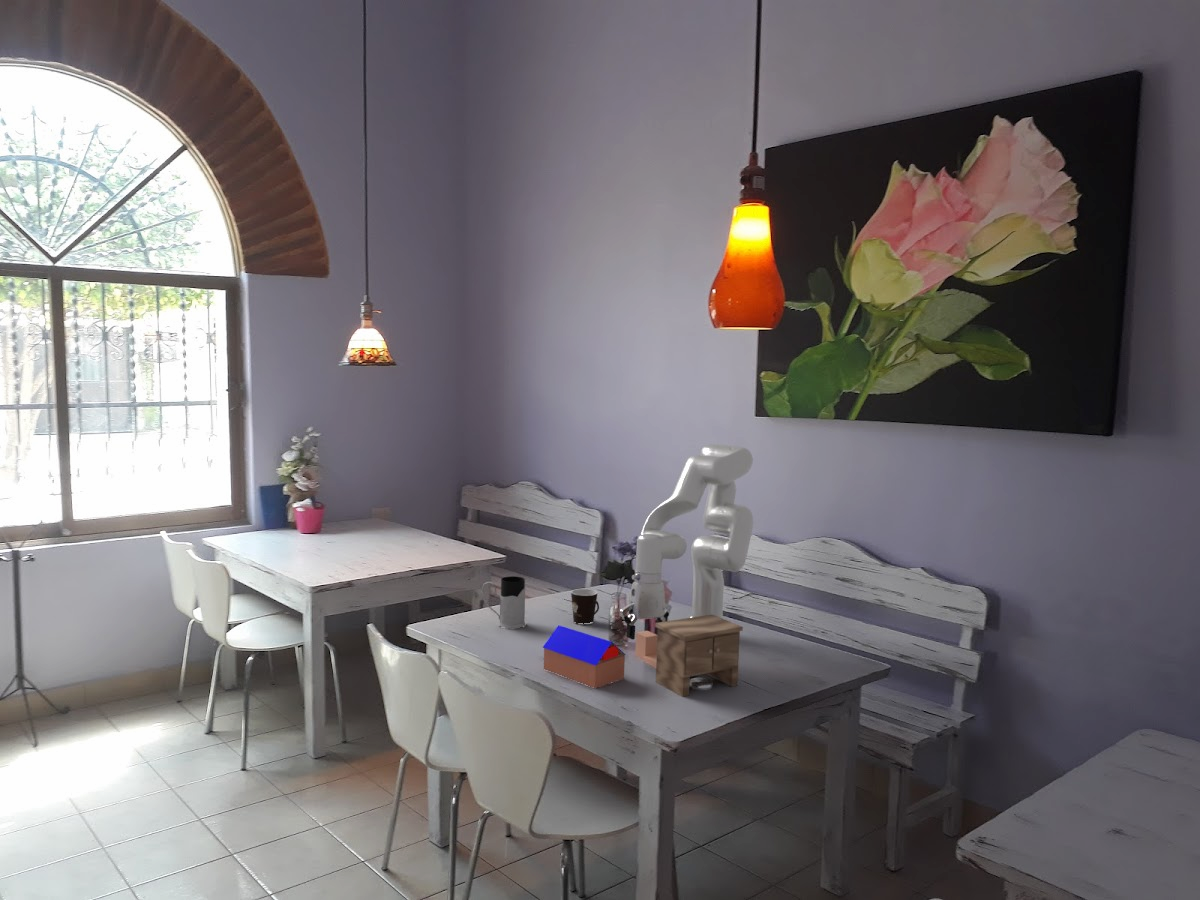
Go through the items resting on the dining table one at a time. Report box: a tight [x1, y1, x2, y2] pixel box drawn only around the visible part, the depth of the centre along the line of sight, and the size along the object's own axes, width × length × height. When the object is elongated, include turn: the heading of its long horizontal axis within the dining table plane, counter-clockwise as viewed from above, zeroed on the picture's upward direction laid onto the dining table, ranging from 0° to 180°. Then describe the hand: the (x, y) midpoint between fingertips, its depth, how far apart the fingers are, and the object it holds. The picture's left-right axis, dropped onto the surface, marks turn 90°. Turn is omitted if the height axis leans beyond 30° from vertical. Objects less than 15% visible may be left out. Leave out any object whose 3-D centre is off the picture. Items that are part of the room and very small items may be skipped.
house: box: [542, 625, 626, 689], centre depth 245 cm, size 12×20×12 cm, turn 47°
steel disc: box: [689, 677, 714, 691], centre depth 239 cm, size 6×6×2 cm
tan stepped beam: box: [634, 630, 694, 678], centre depth 254 cm, size 22×5×7 cm, turn 31°
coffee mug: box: [570, 588, 600, 624], centre depth 293 cm, size 12×9×10 cm
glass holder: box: [481, 575, 526, 629], centre depth 288 cm, size 9×14×15 cm, turn 88°
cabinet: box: [654, 615, 744, 698], centre depth 240 cm, size 14×19×16 cm
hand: (644, 636), depth 260 cm, fingers open, 9 cm apart
